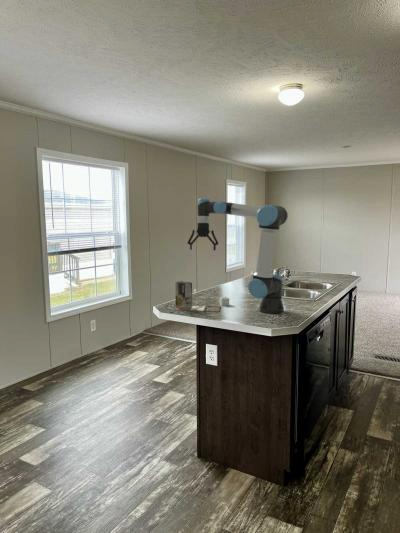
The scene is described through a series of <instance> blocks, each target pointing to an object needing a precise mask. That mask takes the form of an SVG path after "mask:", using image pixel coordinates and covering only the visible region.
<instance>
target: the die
mask: <svg viewBox="0 0 400 533" xmlns="http://www.w3.org/2000/svg"><path fill="white" fill-rule="evenodd" d="M219 305H220V307H229V306H230V297H228V296H220V297H219Z"/></svg>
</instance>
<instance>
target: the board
mask: <svg viewBox="0 0 400 533" xmlns="http://www.w3.org/2000/svg"><path fill="white" fill-rule="evenodd" d="M221 307H222V306H218V305H217V306H215V305H213V306H212V305H196V304H195V305H194V304H192V308H188V309H183V308H178V307H176V306H175V307H174V309H173V310H174V311H181V312H182V311H183V312H185V311H186V312H188V311H189V312H204V313H205V312H208V313H209V312H210V313H220V311H221ZM206 308H218V310H206Z"/></svg>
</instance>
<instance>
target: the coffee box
mask: <svg viewBox="0 0 400 533" xmlns="http://www.w3.org/2000/svg"><path fill="white" fill-rule="evenodd" d="M174 291H175V308H176V307H178V308H183V309H188V308H192V305H193V282H190V281H175V290H174Z"/></svg>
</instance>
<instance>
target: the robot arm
mask: <svg viewBox="0 0 400 533" xmlns="http://www.w3.org/2000/svg"><path fill="white" fill-rule="evenodd" d="M287 211H288V210H286V208H284V206H282V205H274V204H265V205H263V206H256V205H249V204H240V203H234V202H226V201H225V202H224V201H223V200H222V201H221V200H220V201H211V200H210V199H209V198H198V200H197V226H196V227H197V230H195V229H193V230H192V231H191V232H192V233H191V235H190V237H189V239H188V241H187V245H189V250H190V251H191V256H194V243H195V242H196V241H197V240H198V238H199V237H200V238H207V239H208V240H209V241H210V242H211V244H212V247H211V248H212V250H211V251H212V252H211V253H212V255H211V256H215V255H214V254H215V251H216V249H217V248H216V247H217V245H219V241H218V239H217V236H216V235H215V231H214V230H213V229H212V230H210V214H217V215H218V214H220V215H221V214H222V215H223V214H224V215H230V216H237V217H242V218H243V217H244V218H250V219H256V221H257V222H258V224H259V225H258V229H259V230H260V238H259V243H258V244H259V245H258V246H259V247H258V254H257V259H256V260H257V261H256V271H255V272H253V273H252V279H251V280H250V281H249V282H248V286H247V287H248V288H247V289H248V292H249V293H250V295H251V296H252V297H253V298H255V299H261V302H260V304H259V307H258V308H259V309H258V311H259V312H261V313H264V314H273V313H277V314H282V313H281V312H283V313H285V307H284V303H283V300H282V295H283V276H282V275H281V274H280V275H279V274H272V267H273V266H272V265H273V258H274V252H275V245H276V244H275V243H276V236H277V232H279V231H280V226H283V224H285V223H286V222H287V220H288V218H289V216H288V212H287ZM196 233H197V235H196V236H195V238H194V239H193V237H194V235H195V234H196ZM209 234H211V236H212V237H213V239H212V237H211V236H210V235H209ZM192 239H193V240H192Z"/></svg>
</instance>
